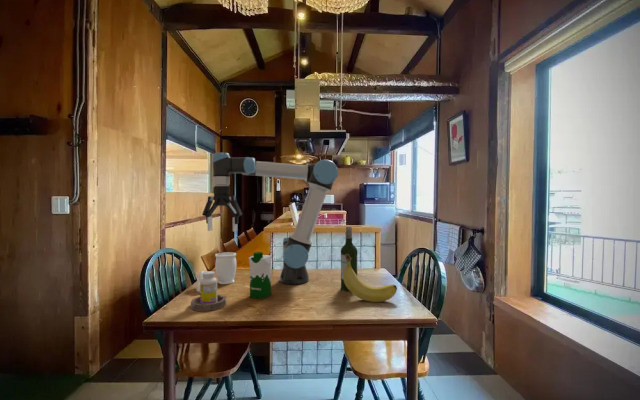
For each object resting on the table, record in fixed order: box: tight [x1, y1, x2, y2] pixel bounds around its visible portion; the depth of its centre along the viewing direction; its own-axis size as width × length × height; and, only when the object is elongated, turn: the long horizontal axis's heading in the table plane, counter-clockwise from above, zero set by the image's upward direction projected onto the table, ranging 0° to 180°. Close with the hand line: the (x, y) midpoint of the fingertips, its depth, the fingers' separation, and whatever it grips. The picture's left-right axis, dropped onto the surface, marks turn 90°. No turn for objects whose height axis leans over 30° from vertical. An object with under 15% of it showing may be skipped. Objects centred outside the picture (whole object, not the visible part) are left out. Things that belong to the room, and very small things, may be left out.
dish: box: [190, 294, 227, 312], centre depth 133 cm, size 14×14×2 cm
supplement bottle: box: [199, 270, 218, 304], centre depth 133 cm, size 7×7×13 cm
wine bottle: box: [340, 226, 358, 293], centre depth 154 cm, size 8×8×30 cm
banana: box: [343, 254, 398, 303], centre depth 137 cm, size 23×6×20 cm, turn 82°
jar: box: [214, 251, 237, 285], centre depth 168 cm, size 11×10×15 cm
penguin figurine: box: [195, 270, 209, 294], centre depth 154 cm, size 6×8×12 cm
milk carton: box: [248, 251, 273, 300], centre depth 145 cm, size 9×9×20 cm
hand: (222, 230), depth 153 cm, fingers open, 13 cm apart
